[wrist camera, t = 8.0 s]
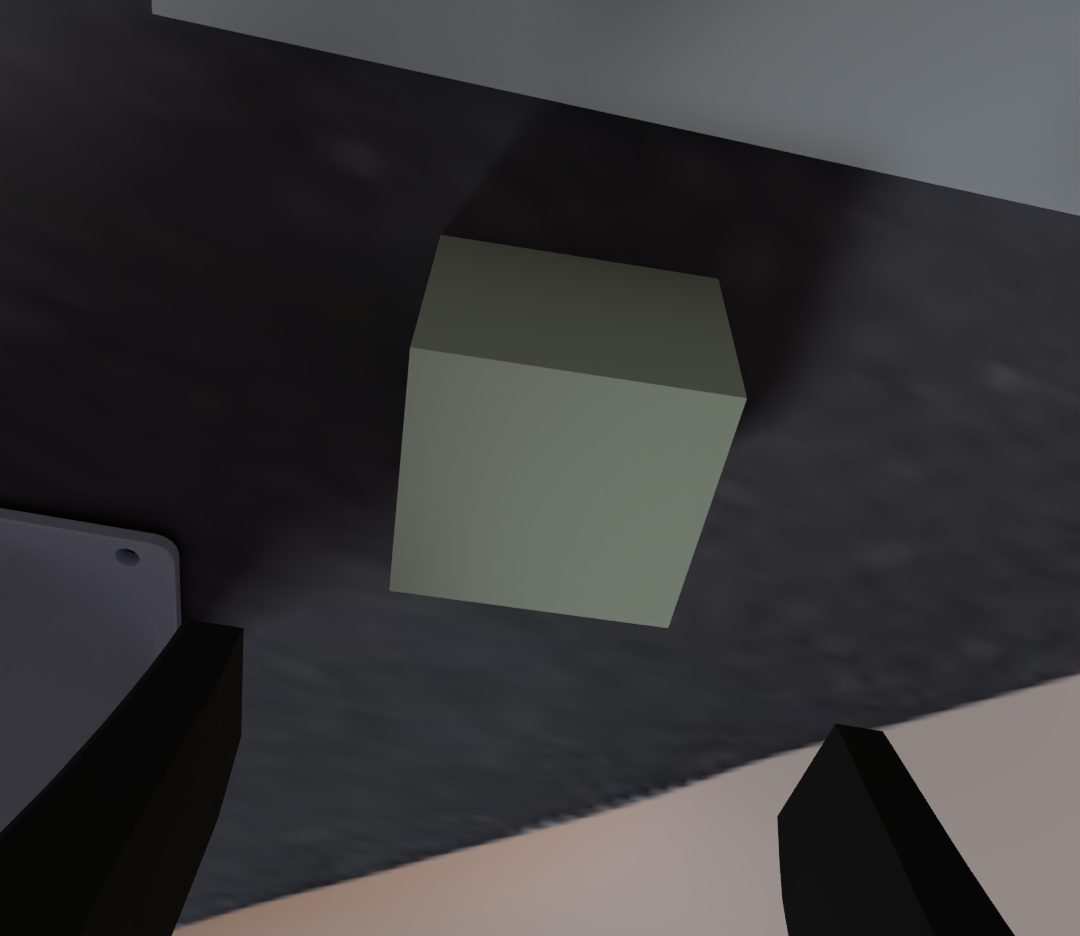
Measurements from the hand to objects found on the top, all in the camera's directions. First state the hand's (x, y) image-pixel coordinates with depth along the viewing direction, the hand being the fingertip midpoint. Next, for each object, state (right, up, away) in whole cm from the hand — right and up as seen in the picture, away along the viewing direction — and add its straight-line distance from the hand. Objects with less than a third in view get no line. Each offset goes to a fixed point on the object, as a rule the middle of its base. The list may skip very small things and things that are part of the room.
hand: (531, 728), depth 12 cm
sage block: (0, +5, +7) cm, 9 cm away
